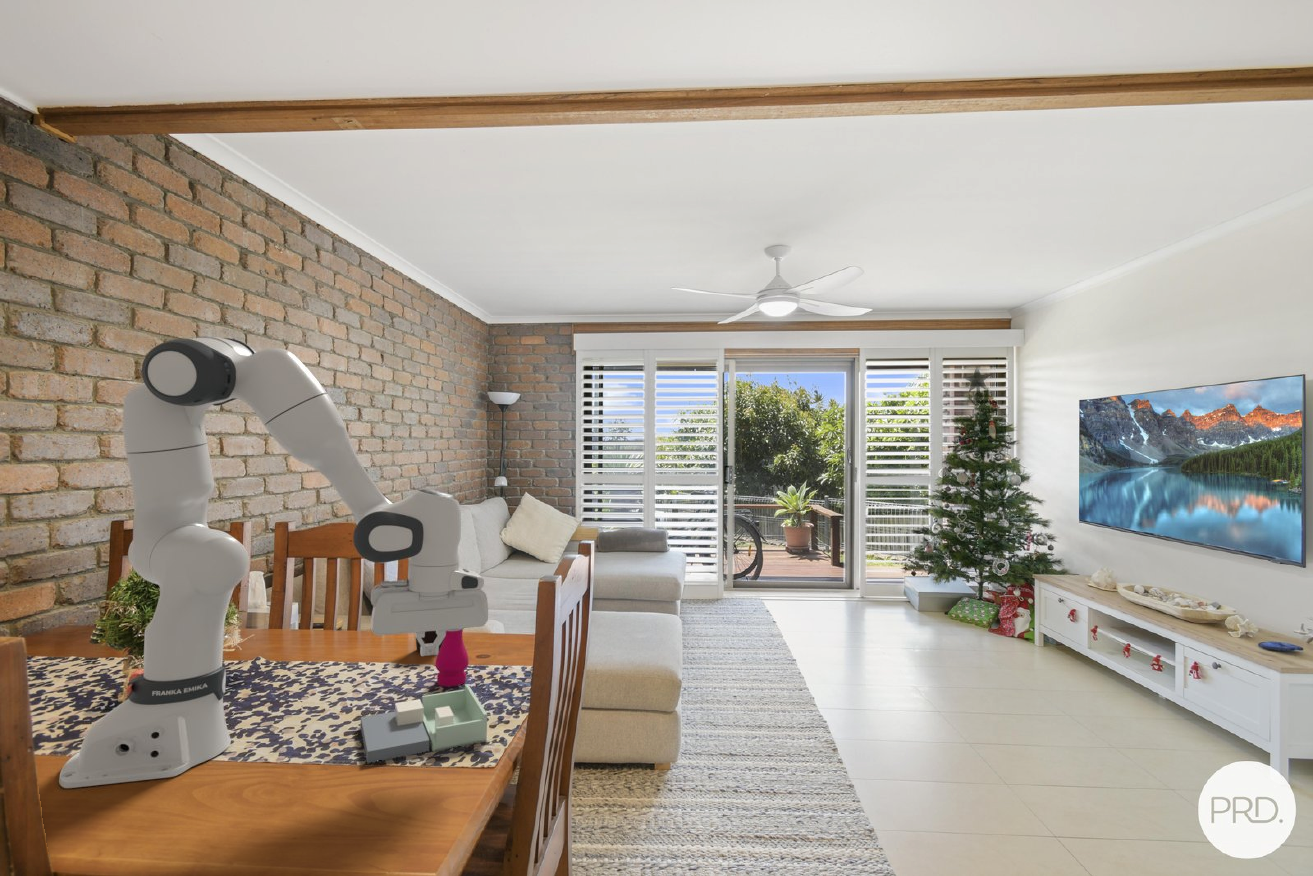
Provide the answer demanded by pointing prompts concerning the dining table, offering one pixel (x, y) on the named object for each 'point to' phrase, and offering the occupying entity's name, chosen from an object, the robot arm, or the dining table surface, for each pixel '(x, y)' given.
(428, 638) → the coffee mug
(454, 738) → the bin
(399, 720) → the tile back
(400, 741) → the slate plate
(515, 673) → the dining table surface
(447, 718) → the tile front
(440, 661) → the pepper mill
